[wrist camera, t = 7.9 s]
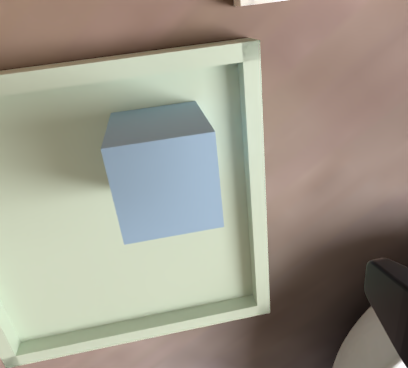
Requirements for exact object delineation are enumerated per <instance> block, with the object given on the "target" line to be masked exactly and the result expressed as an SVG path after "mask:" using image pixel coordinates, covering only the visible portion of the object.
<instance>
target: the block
mask: <svg viewBox="0 0 408 368" xmlns="http://www.w3.org/2000/svg"><path fill="white" fill-rule="evenodd" d="M101 153H102V157H103V161H104V165H105V169H106V173H107V177H108V181H109V185H110V189H111V193H112V197H113V202H114V206H115V210H116V214H117V218H118V222H119V226H120V230H121V234H122V238H123V242H124V245H126V244H131V243H137V242H143V241H148V240H154V239H159V238H165V237H170V236H176V235H182V234H187V233H193V232H198V231H204V230H209V229H215V228H221V227H224V220H223V209H222V198H221V188H220V177H219V166H218V156H217V145H216V134H215V130H214V129H213V127H212V126H211V124H210V123H209V121H208V120H207V118H206V117H205V115H204V113H203V112H202V110H201V109H200V107H199V106H198V104H197V103H196V101H191V102H184V103H177V104H170V105H163V106H156V107H149V108H142V109H135V110H128V111H121V112H114V113H111V114H110V118H109V121H108V125H107V128H106V132H105V135H104V139H103V142H102V146H101Z"/></svg>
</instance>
